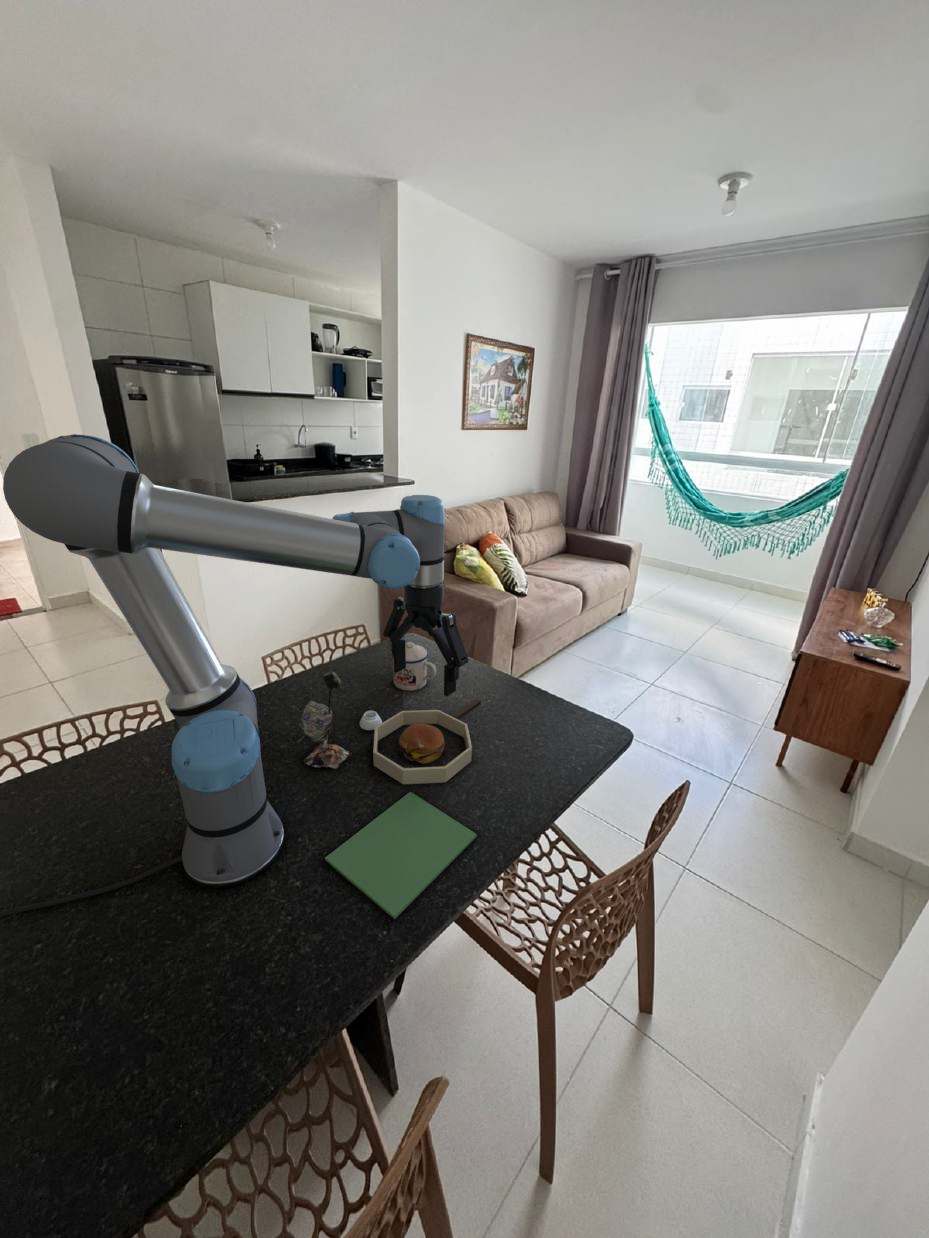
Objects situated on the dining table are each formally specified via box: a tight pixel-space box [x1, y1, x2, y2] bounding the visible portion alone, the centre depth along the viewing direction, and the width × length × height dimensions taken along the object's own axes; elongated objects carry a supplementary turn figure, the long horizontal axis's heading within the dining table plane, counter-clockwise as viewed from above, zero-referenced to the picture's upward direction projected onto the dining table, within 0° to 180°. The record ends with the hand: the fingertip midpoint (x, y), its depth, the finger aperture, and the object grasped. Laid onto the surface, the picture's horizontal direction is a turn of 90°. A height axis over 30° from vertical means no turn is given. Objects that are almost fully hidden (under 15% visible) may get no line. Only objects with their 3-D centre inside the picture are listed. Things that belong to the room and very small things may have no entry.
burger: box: [398, 724, 446, 765], centre depth 109 cm, size 10×9×5 cm
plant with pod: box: [297, 671, 353, 770], centre depth 102 cm, size 8×11×20 cm
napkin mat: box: [324, 791, 478, 920], centre depth 86 cm, size 20×16×1 cm
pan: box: [372, 698, 482, 785], centre depth 113 cm, size 30×20×4 cm
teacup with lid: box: [391, 641, 437, 692], centre depth 132 cm, size 12×9×12 cm
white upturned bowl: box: [359, 710, 383, 731], centre depth 117 cm, size 5×3×5 cm
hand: (424, 681), depth 103 cm, fingers open, 13 cm apart
